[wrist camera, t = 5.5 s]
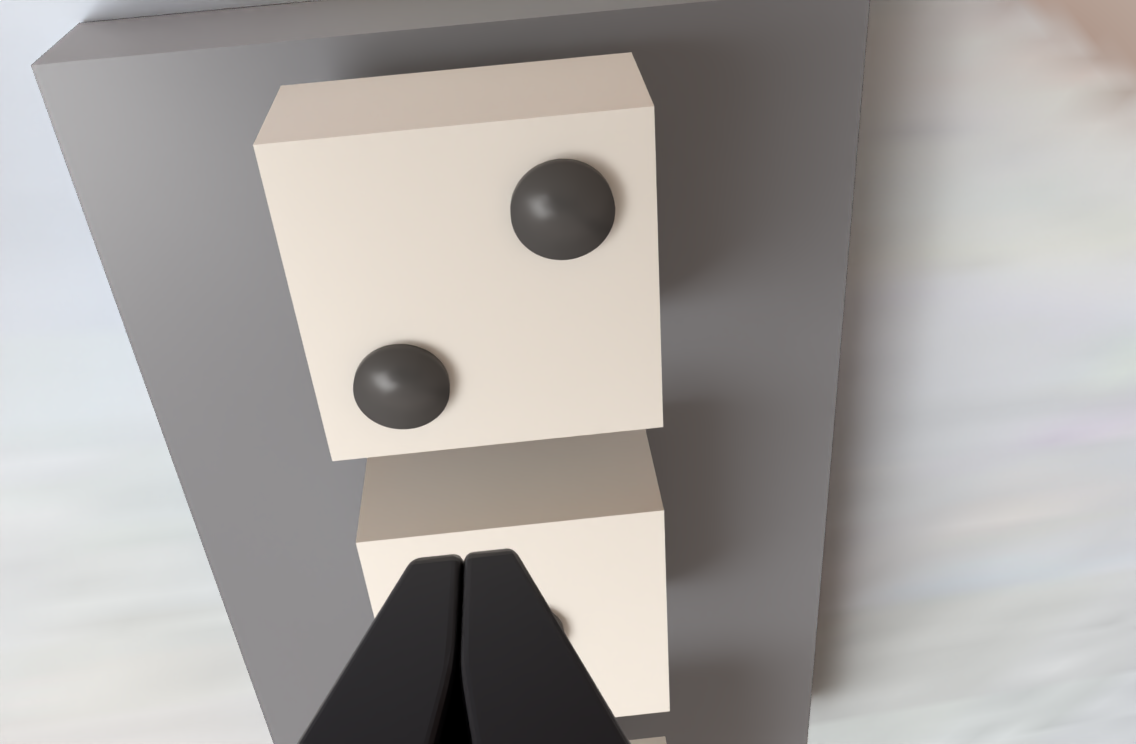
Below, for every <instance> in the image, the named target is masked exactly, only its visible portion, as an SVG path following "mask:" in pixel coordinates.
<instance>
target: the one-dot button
mask: <svg viewBox="0 0 1136 744" xmlns="http://www.w3.org/2000/svg"><path fill="white" fill-rule="evenodd" d="M356 546H357V550H358V554H359V558H360V562H361V566H362V570H363V574H364V578H365V582H366V586H367V590H368V594H369V598H370V602H371V606H372V610H373V614H374V618H375V617H376V616H377V614H378V612H379V611H380V609H381V608H382V606H383V604H384V603H385V601H386V600H387V598H388V596H389V595H390V593H391V591H392V590H393V588H394V587H395V585H396V583H397V582H398V580H399V579H400V577H401V575H402V574H403V572H404V571H405V569H406V567H407V566H408V564H409V563H410V562H411V561H413V560H414V559H416V558H421V557H431V556H440V555H449V554H457V555H459V556H460V557H461V558H462V559H463V560H464V559H465V557H466V555H468V554H469V553H471V552H477V551H486V550H496V549H505V548H509V549H512V550H514V551H515V552H516V553H517V554H518V555H519V557H520V559H521V560H522V562H523V564H524V565H525V567H526V569H527V570H528V572H529V574H530V575H531V577H532V579H533V580H534V582H535V584H536V585H537V587H538V589H539V590H540V592H541V594H542V595H543V597H544V599H545V600H546V602H547V604H548V606H549V607H550V609H551V611H552V612H553V614H554V616H555V617H556V619H557V621H558V622H559V624H560V626H561V627H562V629H563V631H564V632H565V634H566V636H567V637H568V639H569V641H570V642H571V644H572V646H573V647H574V649H575V651H576V652H577V654H578V656H579V657H580V659H581V661H582V662H583V664H584V666H585V667H586V669H587V671H588V672H589V674H590V676H591V678H592V679H593V681H594V683H595V684H596V686H597V688H598V689H599V691H600V693H601V694H602V696H603V698H604V699H605V701H606V703H607V704H608V706H609V708H610V709H611V711H612V713H613V714H614V716H615V717H622V716H631V715H640V714H649V713H658V712H668V711H670V701H669V666H668V631H667V596H666V562H665V527H664V508H663V504H662V499H661V495H660V491H659V486H658V482H657V477H656V473H655V469H654V464H653V460H652V456H651V451H650V447H649V443H648V438H647V434H646V429H639V430H630V431H620V432H610V433H601V434H591V435H581V436H572V437H562V438H552V439H543V440H533V441H524V442H514V443H504V444H495V445H485V446H475V447H466V448H456V449H446V450H437V451H427V452H417V453H408V454H398V455H388V456H379V457H369V458H367V464H366V471H365V478H364V486H363V493H362V500H361V508H360V515H359V522H358V530H357V537H356Z"/></svg>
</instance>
